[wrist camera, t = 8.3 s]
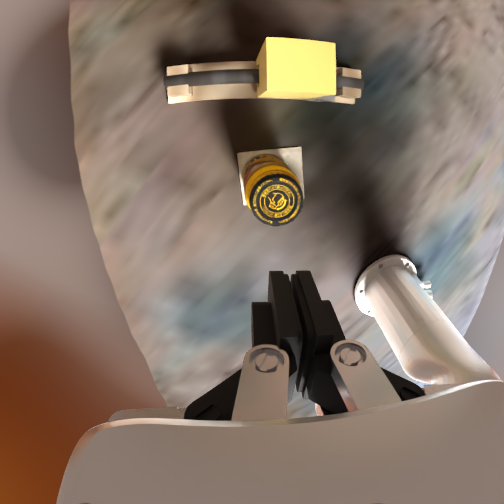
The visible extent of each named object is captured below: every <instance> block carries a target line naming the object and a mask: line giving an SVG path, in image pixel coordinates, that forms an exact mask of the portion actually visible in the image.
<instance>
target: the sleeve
mask: <svg viewBox="0 0 504 504" xmlns="http://www.w3.org/2000/svg"><path fill="white" fill-rule="evenodd" d="M256 67H257V69H259V83H257V98H296V99H309V98H315V97H322V96H329V95H336V50H335V43H330V42H323V41H315V40H305V39H294V38H278V37H266V39H265V41H264V43H263V46H262V48H261V50H260V53H259V55H258V57H257V60H256Z"/></svg>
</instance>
